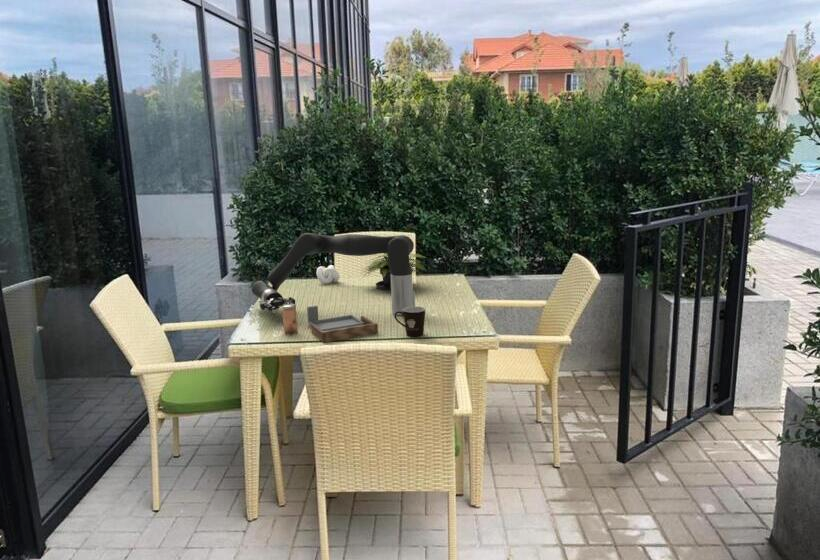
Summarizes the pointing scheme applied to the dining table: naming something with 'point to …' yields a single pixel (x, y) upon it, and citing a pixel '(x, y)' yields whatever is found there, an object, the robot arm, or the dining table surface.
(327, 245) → the robot arm
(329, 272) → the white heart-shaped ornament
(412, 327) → the coffee mug
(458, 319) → the dining table surface
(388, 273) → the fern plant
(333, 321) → the sliding tray
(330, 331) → the wooden base box
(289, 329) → the tea tin
